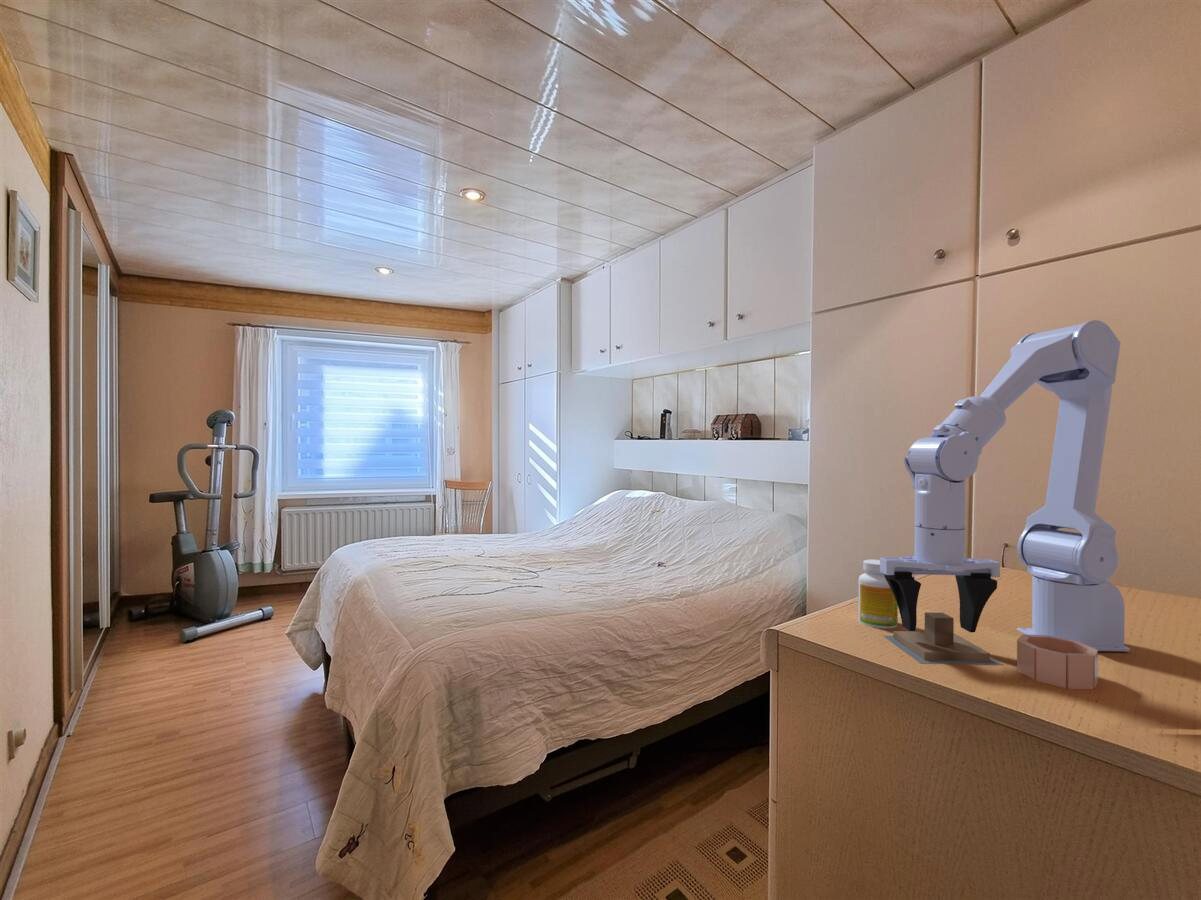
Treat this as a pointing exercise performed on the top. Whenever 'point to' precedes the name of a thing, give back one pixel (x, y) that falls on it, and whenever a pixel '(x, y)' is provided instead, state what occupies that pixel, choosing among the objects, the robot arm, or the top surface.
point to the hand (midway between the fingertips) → (938, 629)
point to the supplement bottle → (876, 598)
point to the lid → (940, 641)
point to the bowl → (1057, 661)
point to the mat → (920, 660)
